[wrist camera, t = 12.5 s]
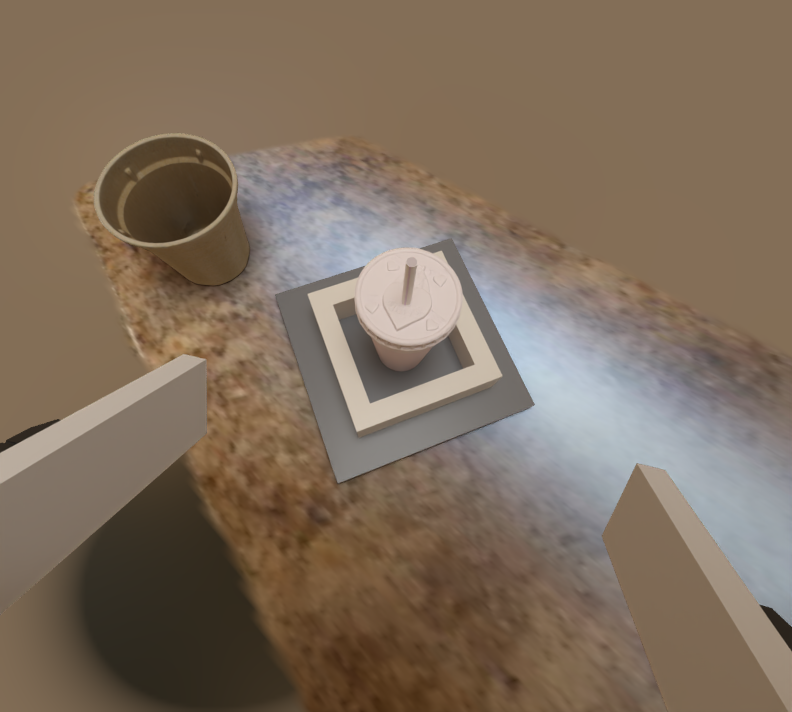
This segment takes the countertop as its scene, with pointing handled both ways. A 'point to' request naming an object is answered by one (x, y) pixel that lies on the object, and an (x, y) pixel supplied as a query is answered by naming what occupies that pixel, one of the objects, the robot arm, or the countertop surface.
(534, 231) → the countertop surface
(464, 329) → the socket
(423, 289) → the smoothie
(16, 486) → the robot arm
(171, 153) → the flower pot
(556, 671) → the countertop surface
